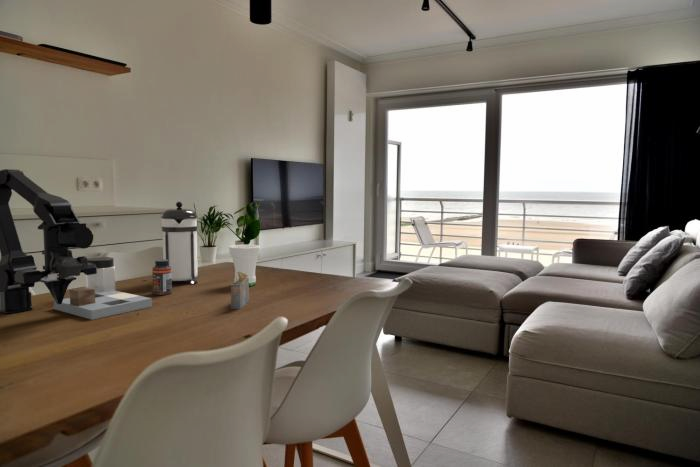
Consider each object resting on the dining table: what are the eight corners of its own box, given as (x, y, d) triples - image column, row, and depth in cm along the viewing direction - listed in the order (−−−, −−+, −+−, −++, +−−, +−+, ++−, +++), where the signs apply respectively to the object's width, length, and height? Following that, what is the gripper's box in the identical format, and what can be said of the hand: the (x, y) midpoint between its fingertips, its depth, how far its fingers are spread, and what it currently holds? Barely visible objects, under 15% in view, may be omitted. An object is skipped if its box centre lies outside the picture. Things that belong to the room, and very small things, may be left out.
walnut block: (78, 306, 136) (78, 291, 135) (70, 303, 138) (69, 289, 138) (95, 302, 139) (94, 288, 139) (86, 300, 142) (85, 287, 141)
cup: (226, 283, 183) (226, 245, 182) (256, 281, 188) (256, 244, 187) (233, 288, 173) (232, 248, 172) (264, 286, 178) (264, 247, 176)
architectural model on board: (239, 301, 156) (238, 271, 155) (248, 301, 155) (248, 271, 155) (229, 310, 144) (229, 277, 143) (239, 310, 144) (239, 277, 143)
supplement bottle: (148, 294, 163) (147, 260, 162) (163, 291, 168) (162, 258, 167) (161, 296, 160) (160, 261, 159) (175, 293, 165) (175, 259, 164)
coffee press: (212, 280, 187) (211, 201, 185) (177, 287, 174) (175, 202, 171) (181, 276, 196) (180, 200, 194) (146, 282, 183) (144, 201, 180)
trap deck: (92, 319, 131) (91, 310, 131) (53, 309, 142) (53, 300, 142) (152, 306, 146) (151, 298, 146) (113, 297, 157) (113, 290, 157)
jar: (81, 298, 156) (79, 260, 155) (91, 292, 164) (89, 257, 163) (111, 297, 157) (109, 260, 156) (119, 292, 165) (118, 256, 164)
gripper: (33, 252, 120) (36, 315, 121) (107, 245, 135) (109, 301, 137) (12, 249, 126) (15, 309, 127) (85, 242, 141) (87, 296, 143)
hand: (59, 304), depth 133 cm, fingers closed
